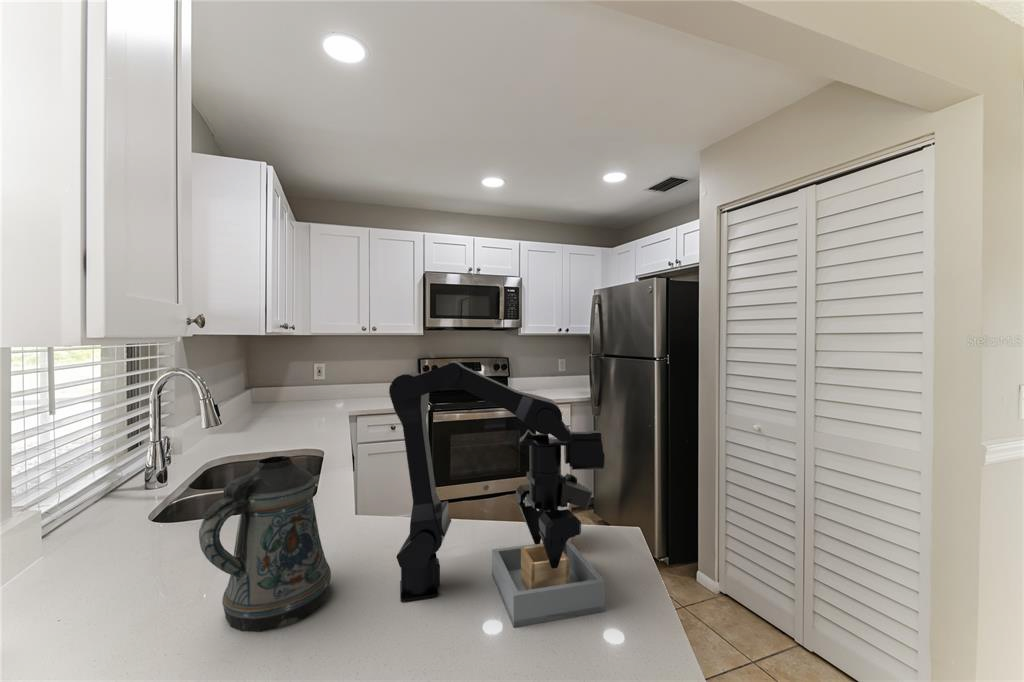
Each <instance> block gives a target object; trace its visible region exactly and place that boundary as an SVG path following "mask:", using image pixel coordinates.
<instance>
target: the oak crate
mask: <svg viewBox="0 0 1024 682" xmlns="http://www.w3.org/2000/svg"><path fill="white" fill-rule="evenodd" d="M521 581H522V583H523V585H524V587H525V589H526V590H530V589H537V588H543V587H550V586H556V585H563V584H569V558H568V557H567V556H566V555H565V553H564V552H562V556H561V559H560V562H559V565H558V567H557V568H554V569H552V568H551V566H550V563H549V560H548V557H547V554H546V551H545V548H544V545H538V546H530V547H522V548H521Z"/></svg>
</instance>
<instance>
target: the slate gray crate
mask: <svg viewBox="0 0 1024 682" xmlns="http://www.w3.org/2000/svg"><path fill="white" fill-rule="evenodd" d="M538 545H543V542H540V544H535V543H532V544H524V545H516V546H509V547H500V548H495V549H493V548H492V549H491V576H493V577H492V579H493V582H494V581H495V582H494V584H495V587H496V589H497V591H498V594H499V596H500V598H501V600H502V603H503V606H504V607H505V610H506V611H505V612H506V613H507V615H508V617H509V619H510V623H511V625H512V627H513V628H518V627H524V626H525V627H526V626H529V625H530V626H531V625H536V624H541V623H547V622H552V621H558V620H564V619H565V620H566V619H569V618H576V617H581V616H587V615H593V614H597V613H604V612H606V581H605V579H604V578H603V577H602V576H601V574H599V573H598V571H597V570H596V569H595V568H594V567H593V565H591V564H590V563H589V561H588V560H587V559H586V558H585V557H584V555H583V554H582V553H581V552H580V551H579V550H578V549H577V547H575V545H574V544H573V543H572V541H571V542H570V541H569V540H567V542H566V544H565V547H564V549H563V552H564V553H565V555H566V556H567V557H568V558H569V584H563V585H556V586H550V587H543V588H537V589H530V590H526V589H525V587H524V585H523V583H522V581H521V548H522V547H530V546H538Z"/></svg>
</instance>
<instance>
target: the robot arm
mask: <svg viewBox="0 0 1024 682" xmlns="http://www.w3.org/2000/svg"><path fill="white" fill-rule="evenodd" d="M451 385H452V386H455V387H457V388H459V389H461V390H463V391H466V392H468V393H470V394H472V395H474V396H477V397H479V398H480V399H482V400H485V401H487V402H489V403H491V404H494V405H495V406H498V408H499V407H500V408H502V409H504V410H506V411H508V412H510V413H511V414H512V415H514V416H515V417H516V418H518V419H519V420H520V421H521V422H523V423H524V424H525V425H527V426H528V427H530V428H531V429H532V430H534V431H535V432H537V433H539V434H535V433H533V432H532V431H531V430H530V429H527V430H526V431H525V433H524V434H523V435H522V436H521V437H520V438H519V445H520V446H529V471H526V472H525V473H526V475H525V476H526V479H528V480H529V483H528V484H520V485H519V486H518V487H517V488H516V490H515V500H516V502H518V504H517V505H518V507H519V509H520V512H521V514H522V516H523V518H524V521H525V524H526V525H527V526H526V527H527V528H528V531H529V534H530V536H531V539H532V540H533V544H540V543H543V545H544V548H545V551H546V554H547V557H548V560H549V563H550V566H551V568H552V569H554V568H557V567H558V565H559V562H560V559H561V556H562V552H563V549H564V547H565V544H566V542H567V540H568V539H569V538H571V539H572V538H575V537H576V536H580V535H581V534H582V521H581V520H580V519H579V518H578V517H577V516H576V515H575V514H574V513H573V512H572V511H571V512H570V511H569V510H568V509H567V510H558V507H559V506H561V507H568V503H570V504H571V505H573V506H577V507H580V508H582V509H584V510H588V508H589V504H590V500H591V499H592V495H593V492H592V490H590V489H589V488H587V486H585V485H583V484H581V483H579V482H578V477H576V476H575V475H573V474H571V473H566V474H565V475H563V474H562V447H563V458H564V464H567V465H568V464H569V465H568V466H569V467H570V470H573V471H574V470H576V471H577V470H580V471H581V470H584V471H585V470H587V471H589V470H591V471H592V470H593V471H594V470H598V471H600V470H601V471H603V470H604V468H605V452H604V447H603V446H604V445H603V441H602V433H601V432H600V430H589V431H571V429H570V427H569V425H566V424H565V423H564V421H563V415H562V411H561V409H560V407H559V406H558V404H557V403H556V401H554V400H553V399H551V398H547V397H544V396H541V395H536V394H532V393H529V392H522V391H519V390H516V389H514V388H512V387H510V386H508V385H506V384H504V383H501V382H499V381H497V380H495V379H492V378H490V377H488V376H486V375H484V374H482V373H479V372H477V371H475V370H474V369H471V368H469V367H466V366H465V365H463V364H462V363H461V362H459V361H451V362H447V363H445V364H444V365H443V366H440V367H437V368H434V369H431V370H428V371H426V372H423V373H419V372H417V371H416V372H407V373H404V374H400V375H398V376H396V377H395V378H394V379H393V380H392V382H391V383H390V384H389V387H388V388H389V389H388V392H389V398H390V401H391V403H392V406H393V411H394V412H395V414H396V416H397V417H398V419H399V421H400V423H401V425H402V430H403V431H402V432H403V437H404V445H405V446H404V447H405V453H406V459H407V460H406V461H407V467H408V474H409V475H408V476H409V482H410V488H411V489H410V490H411V491H410V492H411V496H412V510H411V516H410V522H409V534H408V535H407V537H406V538H405V541H404V542H403V544H402V546H401V548H400V549H399V551H398V553H397V554H396V560H397V563H398V566H399V568H400V581H399V584H400V585H399V590H400V591H399V595H400V596H399V597H400V598H399V601H400V602H402V603H403V602H408V601H409V602H410V601H415V600H424V599H429V598H435V597H436V598H437V597H438V596H439V592H438V591H439V590H438V588H440V586H441V563H440V560H439V558H438V557H437V552H438V551H439V550H440V548H441V547H442V544H443V541H444V540H445V538H446V534H447V532H448V530H449V527H450V525H451V522H452V518H451V517H450V514H449V501H448V500H445V501H442V502H441V500H440V498H439V496H438V494H437V488H436V480H435V476H434V475H435V474H434V467H433V459H432V452H431V445H430V438H429V432H428V431H429V430H428V424H427V416H428V410H429V404H430V403H429V401H430V393H431V392H434V391H437V390H439V389H442V388H445V387H447V386H451ZM549 435H551V436H553V437H554V438H551V437H549Z"/></svg>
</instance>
